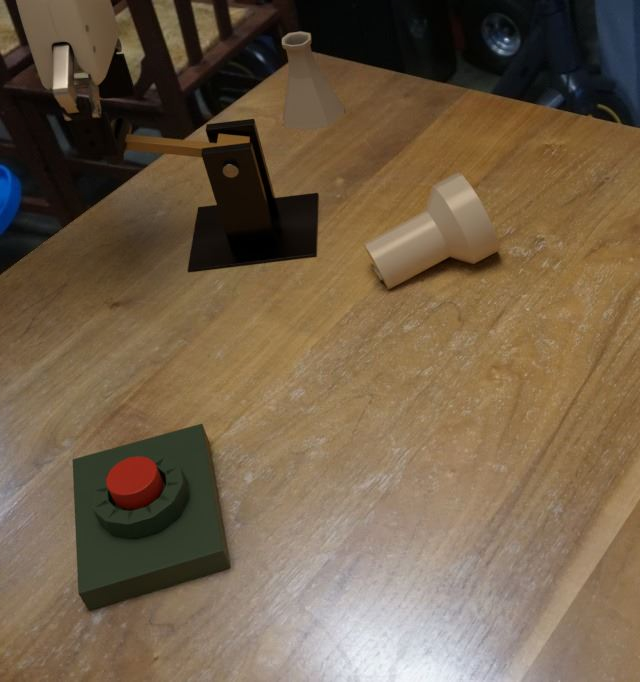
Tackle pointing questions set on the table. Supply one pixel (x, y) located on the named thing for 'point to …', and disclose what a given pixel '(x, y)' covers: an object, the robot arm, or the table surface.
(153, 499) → the button
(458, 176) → the spotlight
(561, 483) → the table surface
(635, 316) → the table surface
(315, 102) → the flask
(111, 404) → the table surface
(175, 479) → the control box
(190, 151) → the hammer
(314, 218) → the bracket
